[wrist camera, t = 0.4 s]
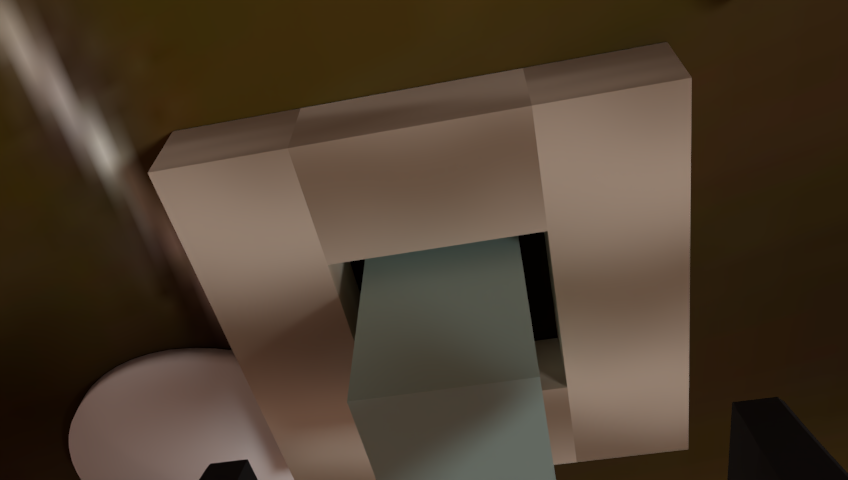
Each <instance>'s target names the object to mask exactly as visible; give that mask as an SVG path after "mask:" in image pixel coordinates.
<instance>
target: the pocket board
mask: <svg viewBox="0 0 848 480" xmlns="http://www.w3.org/2000/svg"><path fill="white" fill-rule="evenodd" d="M691 89H692V78H691V76H690V75H689V73H688V72H687V70H686V69H685V67H684V66H683V64H682V63H681V62H680V60H679V59H678V57H677V56H676V54H675V53H674V51H673V50H672V48H671V47H670V45H669V44H668V43H667V42H664V43H659V44H653V45H648V46H642V47H637V48H631V49H626V50H620V51H615V52H609V53H603V54H598V55H592V56H587V57H581V58H576V59H570V60H565V61H559V62H554V63H548V64H543V65H537V66H532V67H526V68H521V69H515V70H510V71H504V72H499V73H493V74H488V75H482V76H477V77H471V78H465V79H460V80H454V81H449V82H443V83H438V84H432V85H427V86H421V87H416V88H410V89H405V90H399V91H394V92H388V93H383V94H377V95H372V96H366V97H361V98H355V99H350V100H344V101H338V102H333V103H327V104H322V105H316V106H311V107H305V108H300V109H294V110H289V111H283V112H278V113H272V114H267V115H261V116H256V117H250V118H245V119H239V120H234V121H228V122H223V123H217V124H211V125H206V126H200V127H195V128H189V129H184V130H178V131H173V132H172V133H171V135H170V137H169V138H168V140H167V142H166V143H165V145H164V147H163V148H162V150H161V151H160V153H159V155H158V156H157V158H156V160H155V161H154V163H153V165H152V166H151V168H150V170H149V171H148V175H149V177H150V179H151V181H152V183H153V185H154V187H155V189H156V192H157V194H158V196H159V198H160V200H161V202H162V204H163V206H164V208H165V210H166V212H167V215H168V217H169V219H170V221H171V223H172V225H173V227H174V229H175V231H176V233H177V235H178V238H179V240H180V242H181V244H182V246H183V248H184V250H185V252H186V254H187V256H188V259H189V261H190V263H191V265H192V267H193V269H194V271H195V273H196V275H197V277H198V279H199V282H200V284H201V286H202V288H203V290H204V292H205V294H206V296H207V298H208V300H209V302H210V305H211V307H212V309H213V311H214V313H215V315H216V317H217V319H218V321H219V323H220V325H221V328H222V330H223V332H224V334H225V336H226V338H227V340H228V342H229V344H230V346H231V348H232V351H233V353H234V355H235V357H236V359H237V361H238V363H239V365H240V367H241V369H242V371H243V374H244V376H245V378H246V380H247V382H248V384H249V386H250V388H251V390H252V392H253V395H254V397H255V399H256V401H257V403H258V405H259V407H260V409H261V411H262V413H263V415H264V418H265V420H266V422H267V424H268V426H269V428H270V430H271V432H272V434H273V436H274V438H275V441H276V443H277V445H278V447H279V449H280V451H281V453H282V455H283V457H284V459H285V461H286V464H287V466H288V468H289V470H290V472H291V474H292V476H293V478H294V480H376V478H375V475H374V472H373V470H372V467H371V464H370V462H369V459H368V456H367V454H366V451H365V448H364V446H363V443H362V440H361V438H360V435H359V433H358V430H357V427H356V425H355V422H354V419H353V417H352V414H351V411H350V409H349V406H348V403H347V397H348V389H349V382H350V374H351V366H352V358H353V350H354V342H355V334H356V326H357V319H358V311H359V303H360V295H361V294H360V291H359V288H358V285H357V282H356V279H355V276H354V273H353V269H352V266H351V263H350V261H356V260H363V259H369V258H376V257H382V256H389V255H395V254H402V253H408V252H415V251H421V250H428V249H434V248H441V247H447V246H454V245H460V244H467V243H473V242H480V241H486V240H493V239H499V238H506V237H512V236H519V235H525V234H532V233H538V232H544V236H545V243H546V251H547V259H548V266H549V274H550V282H551V290H552V297H553V305H554V313H555V321H556V328H557V336H558V338H553V339H545V340H538V341H534V342H535V348H536V355H537V361H538V368H539V374H540V381H541V387H542V394H543V400H544V407H545V413H546V420H547V426H548V433H549V439H550V446H551V452H552V459H553V465H556V464H564V463H573V462H582V461H591V460H599V459H608V458H617V457H625V456H634V455H643V454H651V453H660V452H669V451H677V450H686V449H688V425H689V313H690V201H691Z"/></svg>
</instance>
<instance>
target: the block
mask: <svg viewBox="0 0 848 480" xmlns="http://www.w3.org/2000/svg"><path fill="white" fill-rule="evenodd" d="M347 403H348V406H349V409H350V411H351V414H352V417H353V419H354V422H355V425H356V427H357V430H358V433H359V435H360V438H361V440H362V443H363V446H364V448H365V451H366V454H367V456H368V459H369V462H370V464H371V467H372V470H373V472H374V475H375V478H376V480H556V478H555V471H554V465H553V459H552V452H551V446H550V439H549V433H548V426H547V420H546V413H545V407H544V400H543V394H542V387H541V381H540V374H539V368H538V361H537V355H536V348H535V342H534V335H533V329H532V322H531V316H530V309H529V303H528V296H527V290H526V283H525V277H524V270H523V264H522V257H521V251H520V245H519V238H518V236H512V237H506V238H499V239H493V240H486V241H480V242H473V243H467V244H460V245H454V246H447V247H441V248H434V249H428V250H421V251H415V252H408V253H402V254H395V255H389V256H382V257H376V258H369V259H365V264H364V271H363V279H362V287H361V295H360V303H359V311H358V319H357V326H356V334H355V342H354V350H353V358H352V366H351V374H350V382H349V389H348V397H347Z"/></svg>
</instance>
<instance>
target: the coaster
mask: <svg viewBox="0 0 848 480" xmlns="http://www.w3.org/2000/svg"><path fill="white" fill-rule="evenodd" d="M69 451H70V455H71V460H72V463H73V465H74V467H75V470H76V472H77V474H78V475H79V477H80V478H81V480H199V479H200V477H201V476H202V474H203V473H204V471H205V470H206V468H207V467H208V466H209V464H211V463H220V462H228V461H237V460H245V459H248V461H249V463H250V465H251V467H252V469H253V471H254V473H255V475H256V477H257V479H258V480H294V478H293V476H292V474H291V472H290V470H289V468H288V466H287V464H286V461H285V459H284V457H283V455H282V453H281V451H280V449H279V447H278V445H277V443H276V441H275V438H274V436H273V434H272V432H271V430H270V428H269V426H268V424H267V422H266V420H265V418H264V415H263V413H262V411H261V409H260V407H259V405H258V403H257V401H256V399H255V397H254V395H253V392H252V390H251V388H250V386H249V384H248V382H247V380H246V378H245V376H244V374H243V371H242V369H241V367H240V365H239V363H238V361H237V359H236V357H235V355H234V353H233V351H232V350H225V349H216V348H183V349H172V350H165V351H160V352H155V353H150V354H147V355H144V356H141V357H137V358H134V359H131V360H129V361H127V362H125V363H123V364H121V365H119V366H117V367H115V368H113V369H112V370H110V371H109V372H107V373H106V374H104V375H103V376H102V377H101V378H100V379H99V380H98V381H96V382H95V383H94V384H93V385H92V386H91V388H90V389H89V390H88V392H87V393H86V395H85V396H84V397H83V399H82V401H81V403H80V405H79V407H78V409H77V411H76V414H75V416H74V418H73V420H72V422H71V427H70V431H69Z"/></svg>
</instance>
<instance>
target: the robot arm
mask: <svg viewBox="0 0 848 480" xmlns="http://www.w3.org/2000/svg"><path fill="white" fill-rule="evenodd" d="M199 480H258V479H257V477H256V475H255V473H254V471H253V469H252V467H251V465H250V463H249V461H248V459H245V460H237V461H228V462H220V463H211V464H209V466H208V467H207V468H206V470H205V471H204V473H203V474H202V476H201V477H200V479H199ZM728 480H848V473H847V472H846V471H845V470H844V469H843V468H842V467H841V466H840V464H839V463H838V462H837V461H836V460H835V459H834V458H833V457H832V456H831V455H830V454H829V453H828V451H827V450H826V449H825V448H824V447H823V446H822V445H821V444H820V443H819V441H818V440H817V439H816V438H815V437H814V436H813V435H812V433H811V432H810V431H809V430H808V429H807V428H806V427H805V425H804V424H803V423H802V422H801V421H800V420H799V418H798V417H797V416H796V415H795V414H794V413H793V411H792V410H791V409H790V408H789V407H788V406H787V404H786V403H785V402H784V401H782V400H781V399H779V398H778V397H774V398H765V399H757V400H748V401H740V402H732V418H731V434H730V450H729V466H728Z"/></svg>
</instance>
